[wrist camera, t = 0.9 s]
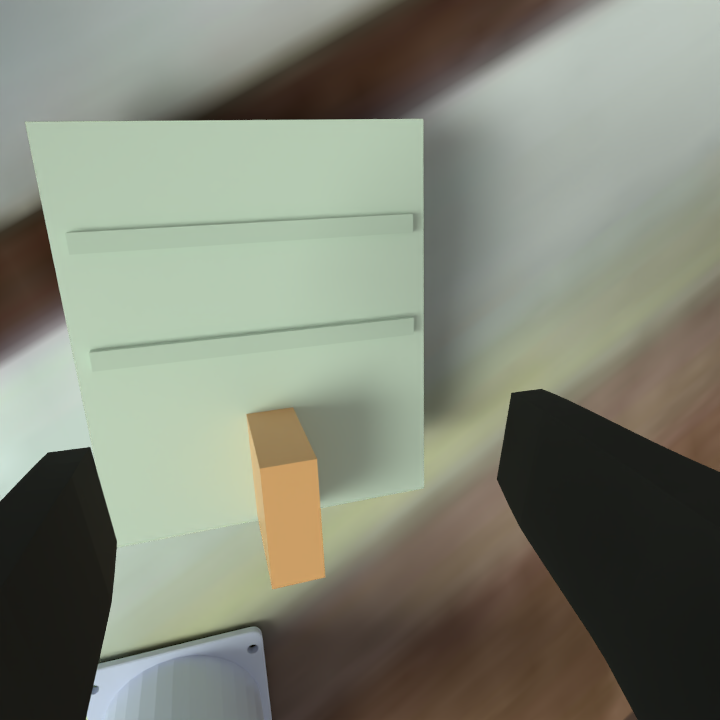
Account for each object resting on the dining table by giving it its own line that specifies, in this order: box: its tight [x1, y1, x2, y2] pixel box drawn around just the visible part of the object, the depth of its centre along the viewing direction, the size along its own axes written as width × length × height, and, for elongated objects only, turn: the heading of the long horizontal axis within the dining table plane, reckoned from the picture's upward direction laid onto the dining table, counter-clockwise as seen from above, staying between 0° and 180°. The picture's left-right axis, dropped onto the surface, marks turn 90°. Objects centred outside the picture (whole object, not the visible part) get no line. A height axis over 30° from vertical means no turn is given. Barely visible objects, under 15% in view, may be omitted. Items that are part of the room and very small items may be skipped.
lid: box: [25, 119, 424, 589], centre depth 17 cm, size 13×11×6 cm
